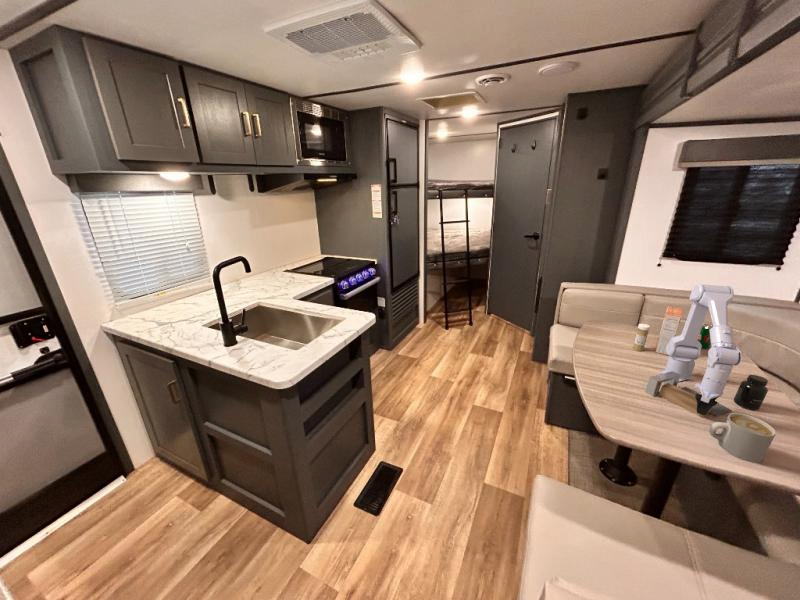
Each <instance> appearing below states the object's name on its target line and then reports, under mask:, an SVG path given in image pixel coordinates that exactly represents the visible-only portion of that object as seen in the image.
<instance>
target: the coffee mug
mask: <svg viewBox="0 0 800 600" xmlns="http://www.w3.org/2000/svg"><path fill="white" fill-rule="evenodd" d="M719 429H722V430H721V431H720V433H716V432H717V430H719ZM708 432H709V433H710V436H711V437H712V438H714V439H716V440H717V443H718V445H719V447H720V448H722V450H724V451H725V452H727V453H728V454H730V455H732V456H733V457H736V458H738V459H740V460H742V459H743V460H742V461H745V460H746V462H749V461H750V463H762V462H763V460H764V458H765V456H766V454H767V453H768V451H769V449H770V446H771V444H772V442H773V441H774V438H775V436H776V434H777V433H776V432H777V431H776V430H775V429H774V427H773V426H771V425H770V424H769V423H767V422H765V421H764V420H762V419H760V418H757V417H756V416H751V415H749V414H746V413H740V412H732V413H731V412H730V413H728V415H727V417H726V420H725V422H721V421H716V422H713V423H712V424H711V425H710V427H709V431H708Z"/></svg>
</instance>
